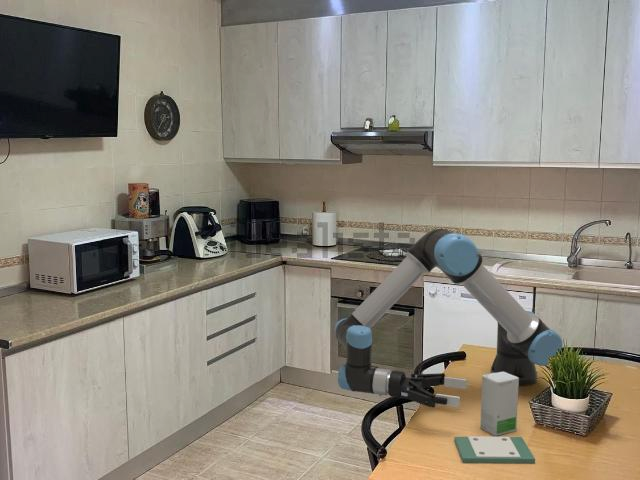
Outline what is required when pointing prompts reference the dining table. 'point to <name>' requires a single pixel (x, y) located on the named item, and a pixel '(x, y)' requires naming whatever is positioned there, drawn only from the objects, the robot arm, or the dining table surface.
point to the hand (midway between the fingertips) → (463, 393)
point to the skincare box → (499, 403)
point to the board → (493, 450)
